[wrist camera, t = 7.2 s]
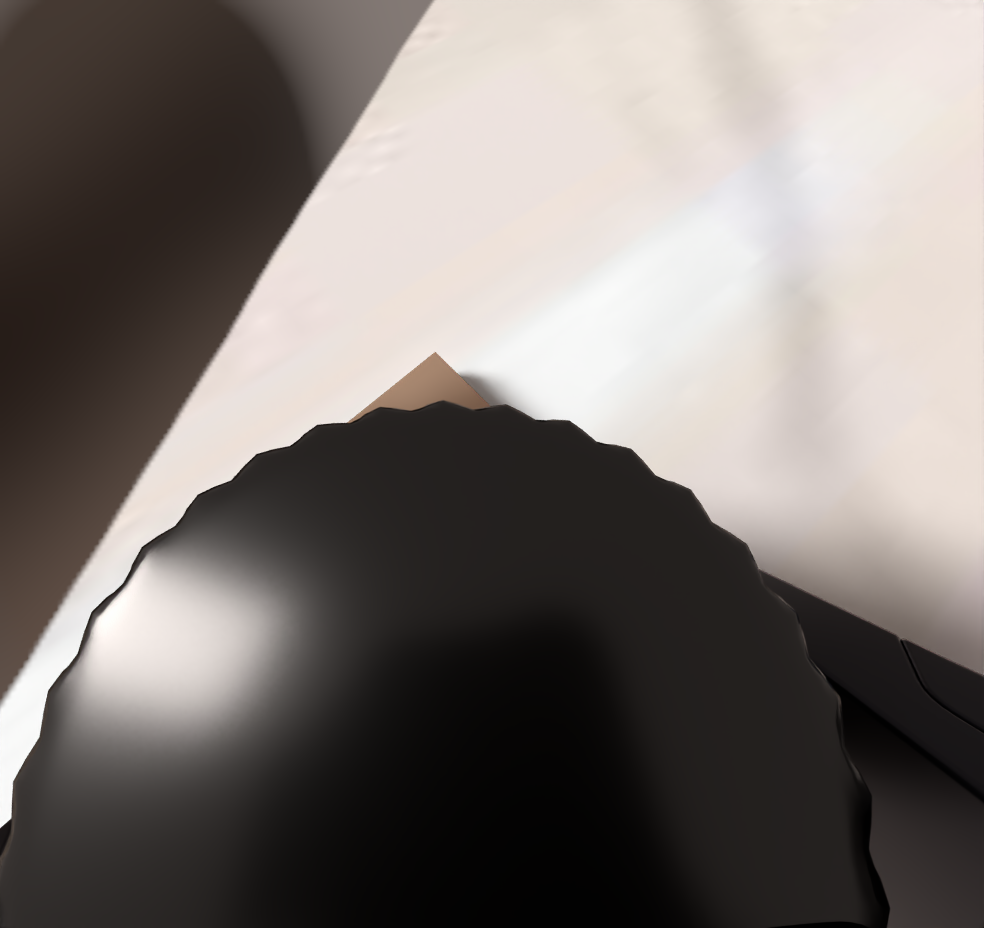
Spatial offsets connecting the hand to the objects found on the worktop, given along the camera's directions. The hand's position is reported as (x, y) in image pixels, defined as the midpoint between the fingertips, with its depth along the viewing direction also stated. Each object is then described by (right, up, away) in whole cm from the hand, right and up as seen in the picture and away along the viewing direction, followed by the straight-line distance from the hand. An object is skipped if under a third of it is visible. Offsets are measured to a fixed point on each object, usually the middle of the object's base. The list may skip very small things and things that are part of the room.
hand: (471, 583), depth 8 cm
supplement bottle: (+1, -3, +6) cm, 7 cm away
